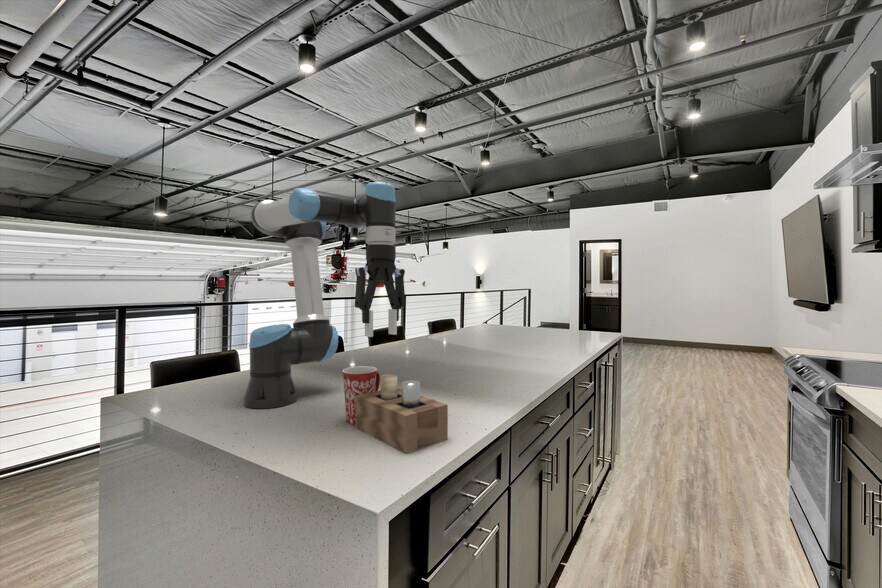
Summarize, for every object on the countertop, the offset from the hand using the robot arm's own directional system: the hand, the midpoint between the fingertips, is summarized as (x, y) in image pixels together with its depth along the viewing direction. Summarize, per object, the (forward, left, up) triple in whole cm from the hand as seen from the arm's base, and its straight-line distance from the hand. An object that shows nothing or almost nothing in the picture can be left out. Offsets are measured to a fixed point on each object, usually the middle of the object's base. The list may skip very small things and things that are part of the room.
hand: (381, 335), depth 100 cm
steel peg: (+13, 0, -18) cm, 22 cm away
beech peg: (+4, 0, -18) cm, 18 cm away
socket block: (+8, 0, -23) cm, 24 cm away
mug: (-7, -1, -23) cm, 24 cm away
